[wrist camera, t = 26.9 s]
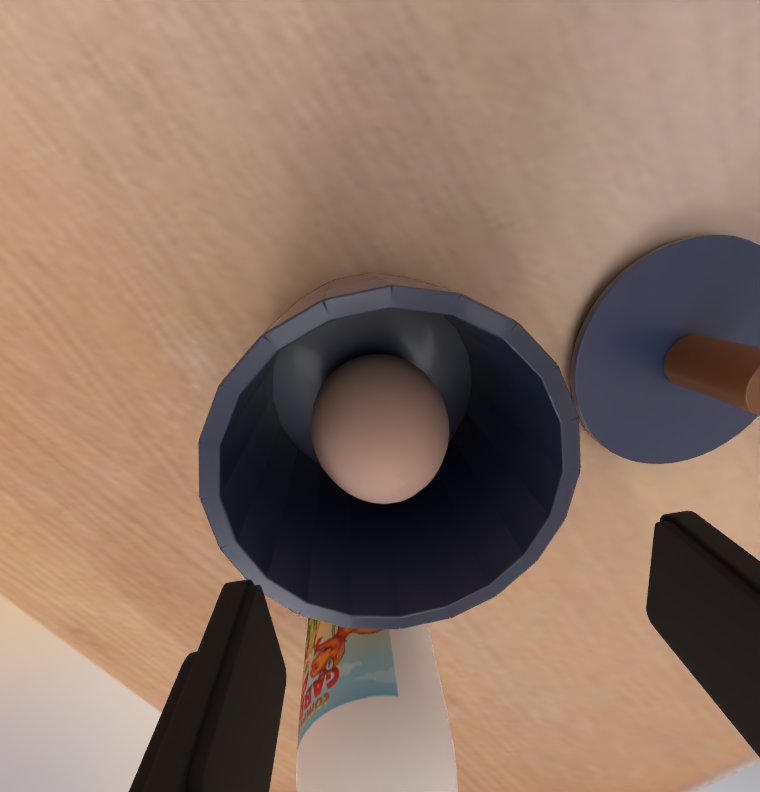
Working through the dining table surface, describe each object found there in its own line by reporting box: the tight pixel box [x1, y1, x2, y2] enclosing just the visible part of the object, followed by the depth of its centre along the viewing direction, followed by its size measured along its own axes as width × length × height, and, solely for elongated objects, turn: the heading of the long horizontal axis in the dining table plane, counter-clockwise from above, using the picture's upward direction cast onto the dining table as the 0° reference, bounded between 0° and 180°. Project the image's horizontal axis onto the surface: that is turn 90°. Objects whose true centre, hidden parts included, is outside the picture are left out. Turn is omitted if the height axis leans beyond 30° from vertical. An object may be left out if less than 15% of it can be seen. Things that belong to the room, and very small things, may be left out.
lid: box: [570, 235, 760, 464], centre depth 23 cm, size 14×14×7 cm
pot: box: [199, 273, 581, 629], centre depth 20 cm, size 13×13×12 cm
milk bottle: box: [296, 618, 458, 792], centre depth 21 cm, size 8×8×20 cm
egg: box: [311, 354, 449, 504], centre depth 20 cm, size 7×7×10 cm
